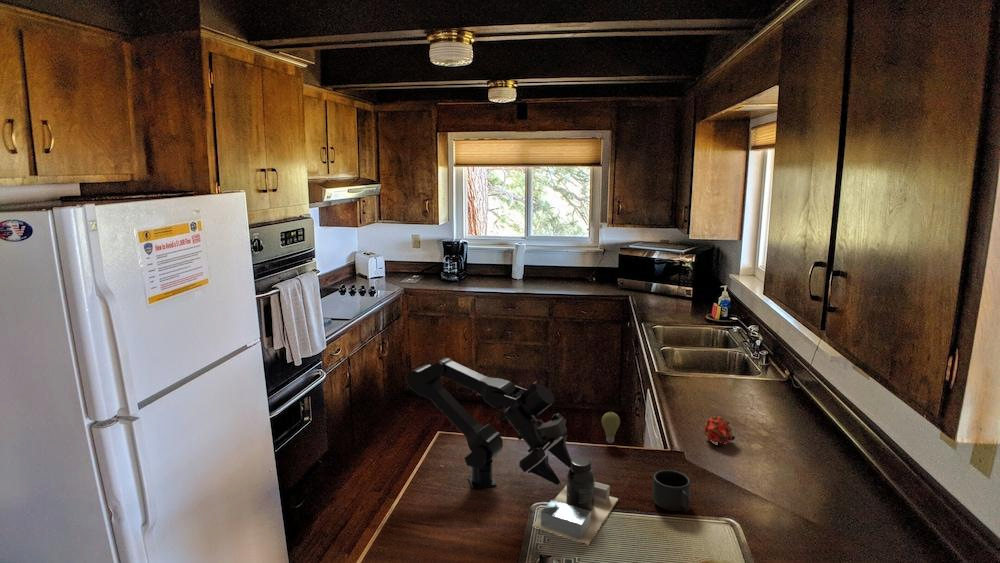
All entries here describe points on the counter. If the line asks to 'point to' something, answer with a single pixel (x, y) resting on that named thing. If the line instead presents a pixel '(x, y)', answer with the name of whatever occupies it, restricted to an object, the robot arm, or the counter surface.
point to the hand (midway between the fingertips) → (565, 475)
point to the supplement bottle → (580, 484)
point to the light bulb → (610, 425)
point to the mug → (671, 490)
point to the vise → (598, 513)
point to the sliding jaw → (566, 518)
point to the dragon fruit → (718, 430)
